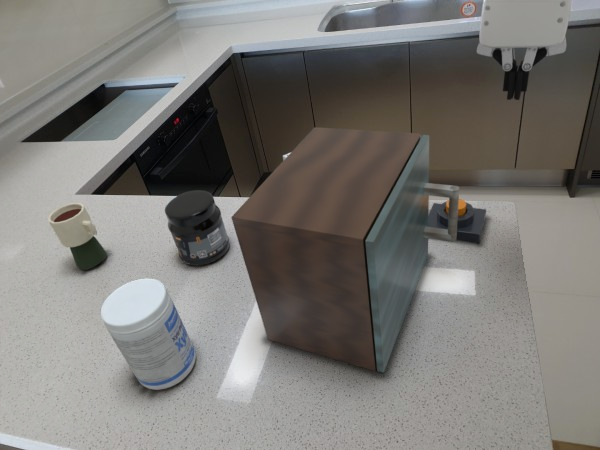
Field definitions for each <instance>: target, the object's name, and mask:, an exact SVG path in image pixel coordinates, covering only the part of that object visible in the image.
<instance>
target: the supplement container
mask: <svg viewBox="0 0 600 450" xmlns="http://www.w3.org/2000/svg"><path fill="white" fill-rule="evenodd" d="M164 214H165V216H166V218H167V229H168V231H169V233H170V234H171V236H172V239H173V241H174V244H175V246H176V249H177V251H178V255H179V257H180V260H182V261H183V262H184V263H186V264H188V265H191V266H204V265H208V264H211V263H214V262H216V261H217V260H219V259H220V258H222V257H223V256H224V255H225V254H226V253H227V251H228V250H229V247H230V238H229V235H228V233H227V230H226V226H225V224H224V220H223V217H222V211H221V209H220V208H219V206H218V205H217V204H216V201H215V198H214V196H213V194H212V193H210V192H209V191H207V190H200V189H199V190H197V189H196V190H189V191H186V192H182V193H180V194H178V195H176V196H174V197H172V198H171V200H169V201H168V202H167V204H166V205H165V207H164Z"/></svg>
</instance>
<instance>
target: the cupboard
mask: <svg viewBox="0 0 600 450" xmlns="http://www.w3.org/2000/svg"><path fill="white" fill-rule="evenodd" d="M421 137H422V133H417V132H401V131H400V132H399V131H383V130H368V129H367V130H365V129H352V128H351V129H350V128H335V127H334V128H333V127H331V128H330V127H316V126H315V127H313V128H312V130H310V132H308V133H307V135H306V136H305V137H304V138H303V139H301V141H300V142H299V143H298V144H297V146H296V147H294V148H293V150H292V151H291V152H289V153H290V154H289V155H288V156H287V158H286V159H285V160H284V161H282V162H280V164H279V165H278V166H277V167H276V168H275V169H274V170H273V171H272V172H271V174H270V175H269V176H268V177H267V178H266V179H265V180H264V181H263V182H262V183H261V185H260V186H259V187H258V188H257V189H256V190H255V191H254V192H253V193H252V194H250V196H249V197H248V198H247V200H246V201H245V202H244V203H243V204H242V205H241V206H240V207H239V208H238V209H237V210H236V211H235V213H233V215H232V216H230V217H231V221H232V224H233V228H234V231H235V234H236V238H237V242H238V245H239V248H240V251H241V254H242V257H243V262H244V265H245V268H246V271H247V275H248V278H249V282H250V284H251V288H252V291H253V294H254V298H255V302H256V304H257V308H258V311H259V314H260V318H261V321H262V325H263V327H264V331H265V334H266V337H267V340H269V341H272V342H275V343H279V344H282V345H285V346H289V347H292V348H296V349H299V350H302V351H305V352H309V353H312V354H316V355H319V356H323V357H326V358H329V359H333V360H336V361H339V362H343V363H346V364H350V365H353V366H357V367H359V368H363V369H366V370H369V371H373V372H376V371H377V362H376V351H375V340H374V329H373V319H372V308H371V297H370V286H369V275H368V264H367V254H366V243H365V240H366V239H367V237H368V235H369V233H370V231H371V229H372V228H373V226H374V224H375V222H376V220H377V218H378V217H379V215H380V213H381V211H382V209H383V207H384V205H385V204H386V202H387V200H388V198H389V196H390V194H391V193H392V191H393V189H394V187H395V185H396V183H397V182H398V180H399V178H400V176H401V174H402V172H403V171H404V169H405V167H406V165H407V163H408V161H409V159H410V158H411V156H412V154H413V152H414V150H415V148H416V147H417V145H418V143H419V141H420V139H421Z"/></svg>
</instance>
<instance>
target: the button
mask: <svg viewBox="0 0 600 450" xmlns="http://www.w3.org/2000/svg"><path fill="white" fill-rule="evenodd" d="M445 202H446V201H445ZM466 203H467V201H465V200H464V199H462V198H459V203H458V217H459V216H463V215H464V214H465V213H466ZM446 213H447V214H449V199H448V200H447V202H446Z"/></svg>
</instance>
